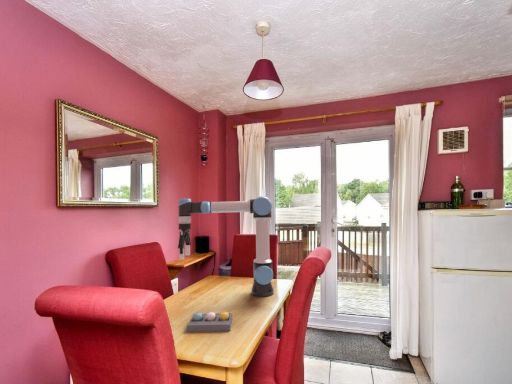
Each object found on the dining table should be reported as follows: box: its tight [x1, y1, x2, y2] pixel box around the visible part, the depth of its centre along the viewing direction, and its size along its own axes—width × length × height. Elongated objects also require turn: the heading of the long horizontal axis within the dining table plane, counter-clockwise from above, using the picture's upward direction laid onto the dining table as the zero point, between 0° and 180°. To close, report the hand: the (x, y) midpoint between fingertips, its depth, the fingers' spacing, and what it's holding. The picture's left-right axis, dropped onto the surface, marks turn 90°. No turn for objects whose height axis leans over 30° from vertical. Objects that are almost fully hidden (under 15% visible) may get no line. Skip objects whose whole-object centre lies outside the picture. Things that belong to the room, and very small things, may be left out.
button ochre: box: [219, 311, 230, 321], centre depth 132 cm, size 4×4×3 cm
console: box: [186, 312, 233, 333], centre depth 131 cm, size 20×14×3 cm
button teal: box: [192, 311, 203, 321], centre depth 131 cm, size 4×4×3 cm
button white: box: [205, 311, 216, 321], centre depth 131 cm, size 4×4×3 cm
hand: (184, 257), depth 167 cm, fingers open, 13 cm apart
